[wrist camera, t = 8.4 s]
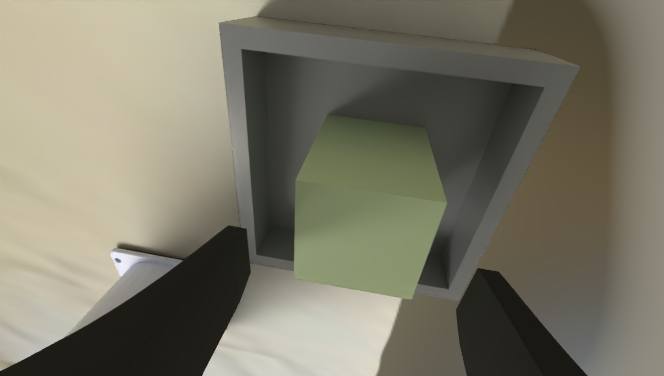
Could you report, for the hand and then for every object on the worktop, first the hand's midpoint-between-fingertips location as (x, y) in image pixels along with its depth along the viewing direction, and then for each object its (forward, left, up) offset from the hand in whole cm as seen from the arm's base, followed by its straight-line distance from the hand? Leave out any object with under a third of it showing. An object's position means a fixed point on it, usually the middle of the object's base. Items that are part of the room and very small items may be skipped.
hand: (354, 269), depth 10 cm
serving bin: (0, 0, -8) cm, 8 cm away
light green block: (0, 0, -7) cm, 7 cm away
